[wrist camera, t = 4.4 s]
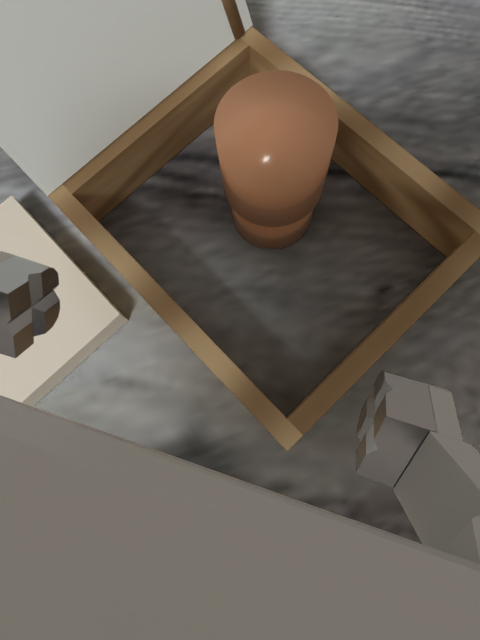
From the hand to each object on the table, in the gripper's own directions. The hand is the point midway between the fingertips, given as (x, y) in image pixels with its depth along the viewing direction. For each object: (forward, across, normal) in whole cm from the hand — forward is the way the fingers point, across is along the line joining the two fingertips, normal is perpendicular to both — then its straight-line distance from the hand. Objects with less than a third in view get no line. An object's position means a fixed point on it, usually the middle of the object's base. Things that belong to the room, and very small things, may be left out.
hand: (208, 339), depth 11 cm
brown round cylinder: (+17, +1, +2) cm, 17 cm away
